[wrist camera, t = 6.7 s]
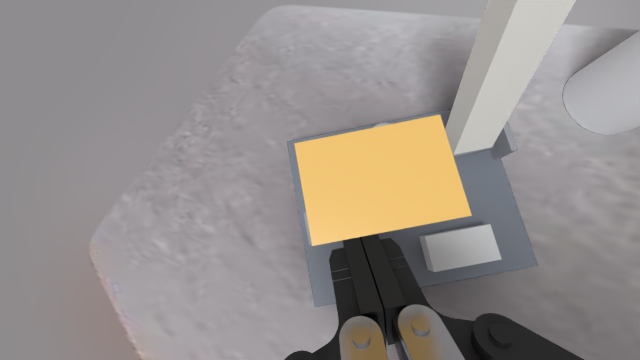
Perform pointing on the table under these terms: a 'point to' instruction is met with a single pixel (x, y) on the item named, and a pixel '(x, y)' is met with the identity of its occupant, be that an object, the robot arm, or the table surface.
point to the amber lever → (379, 180)
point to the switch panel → (442, 224)
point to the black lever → (501, 68)
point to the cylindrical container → (607, 90)
